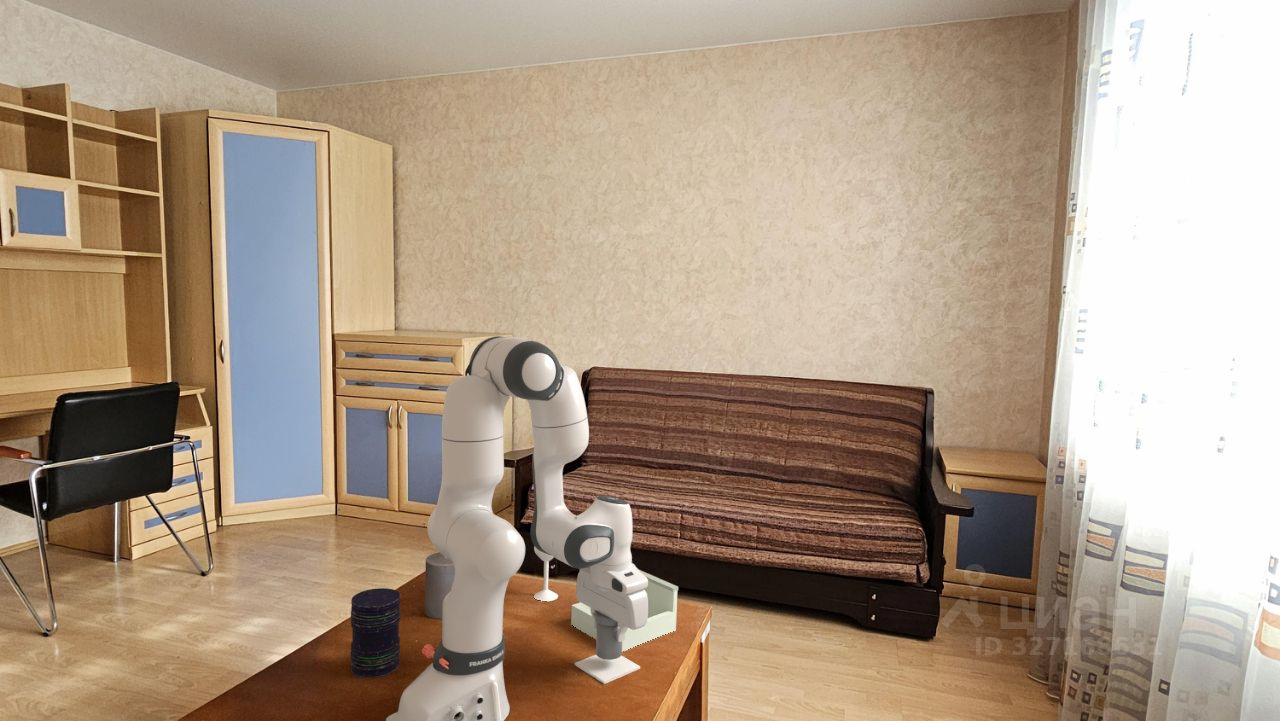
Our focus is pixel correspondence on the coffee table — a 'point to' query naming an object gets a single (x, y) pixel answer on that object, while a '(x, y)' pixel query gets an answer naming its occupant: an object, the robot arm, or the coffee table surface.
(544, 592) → the champagne flute
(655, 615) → the frame
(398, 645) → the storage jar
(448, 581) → the pillar candle
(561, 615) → the coffee table surface
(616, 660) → the mat
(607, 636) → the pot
